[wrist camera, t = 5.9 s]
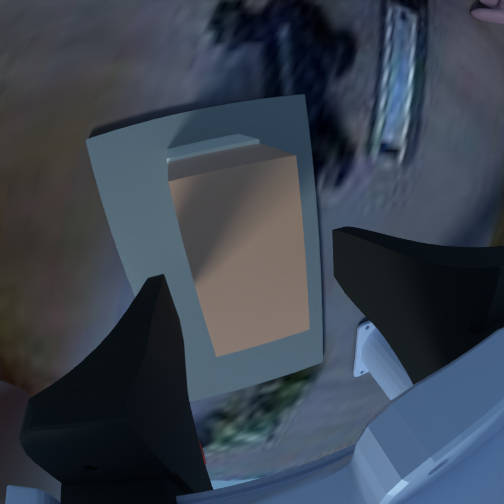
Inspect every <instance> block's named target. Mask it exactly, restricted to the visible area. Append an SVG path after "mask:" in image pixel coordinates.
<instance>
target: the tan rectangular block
mask: <svg viewBox="0 0 504 504" xmlns="http://www.w3.org/2000/svg"><path fill="white" fill-rule="evenodd" d="M168 183H169V187H170V191H171V196H172V200H173V204H174V208H175V212H176V216H177V220H178V224H179V228H180V232H181V236H182V240H183V244H184V248H185V252H186V255H187V259H188V263H189V267H190V270H191V274H192V277H193V281H194V285H195V288H196V292H197V295H198V299H199V302H200V305H201V309H202V312H203V316H204V319H205V322H206V326H207V329H208V332H209V335H210V339H211V342H212V345H213V348H214V351H215V354H216V357H219V356H223V355H227V354H230V353H234V352H238V351H241V350H245V349H248V348H252V347H255V346H259V345H262V344H265V343H269V342H272V341H275V340H278V339H282V338H285V337H288V336H291V335H294V334H297V333H301V332H304V331H307V330H310V325H309V305H308V288H307V272H306V257H305V244H304V232H303V220H302V209H301V198H300V188H299V178H298V169H297V160H296V155H294V154H291V153H288V152H285V151H282V150H279V149H276V148H273V147H270V146H267V145H264V144H261V143H259V144H253V145H247V146H242V147H236V148H231V149H226V150H221V151H216V152H211V153H207V154H202V155H197V156H193V157H188V158H184V159H180V160H176V161H171V162H168Z"/></svg>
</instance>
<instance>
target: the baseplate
mask: <svg viewBox="0 0 504 504" xmlns="http://www.w3.org/2000/svg"><path fill="white" fill-rule="evenodd" d="M235 134H241V135H245V136H249V137H252V138H256V139H259V142H260V143H261V144H264V145H267V146H270V147H273V148H276V149H279V150H282V151H285V152H288V153H291V154H294V155H296V160H297V169H298V178H299V188H300V198H301V209H302V220H303V232H304V244H305V257H306V272H307V288H308V305H309V325H310V330H307V331H304V332H301V333H297V334H294V335H291V336H288V337H285V338H282V339H278V340H275V341H272V342H269V343H265V344H262V345H259V346H255V347H252V348H248V349H245V350H241V351H238V352H234V353H230V354H227V355H223V356H219V357H216V354H215V351H214V348H213V345H212V342H211V339H210V335H209V332H208V329H207V326H206V322H205V319H204V316H203V312H202V309H201V305H200V302H199V299H198V295H197V292H196V288H195V285H194V281H193V277H192V274H191V270H190V267H189V263H188V259H187V255H186V252H185V248H184V244H183V240H182V236H181V232H180V228H179V224H178V220H177V216H176V212H175V208H174V204H173V200H172V196H171V191H170V187H169V183H168V164H167V149H170V148H174V147H178V146H183V145H187V144H191V143H196V142H200V141H205V140H210V139H214V138H219V137H224V136H230V135H235ZM86 144H87V148H88V152H89V156H90V160H91V164H92V168H93V172H94V175H95V179H96V183H97V186H98V190H99V193H100V197H101V200H102V204H103V207H104V210H105V213H106V217H107V220H108V223H109V226H110V229H111V232H112V235H113V238H114V241H115V244H116V247H117V250H118V253H119V255H120V258H121V261H122V264H123V266H124V269H125V272H126V274H127V277H128V280H129V282H130V285H131V287H132V290H133V293H134V295H135V297H136V296H137V294H138V292H139V291H140V289H141V288H142V286H143V284H144V283H145V281H146V280H147V278H149V277H153V276H157V275H161V274H164V275H165V278H166V281H167V284H168V287H169V290H170V293H171V296H172V299H173V302H174V304H175V307H176V310H177V313H178V316H179V319H180V323H181V328H182V333H183V339H184V347H185V361H186V375H187V387H188V396H189V402H192V401H196V400H200V399H204V398H208V397H212V396H216V395H220V394H224V393H228V392H231V391H235V390H239V389H242V388H246V387H249V386H253V385H256V384H259V383H263V382H266V381H269V380H272V379H275V378H278V377H282V376H285V375H288V374H291V373H294V372H297V371H299V370H302V369H305V368H308V367H311V366H314V365H316V364H319V363H322V362H323V328H322V290H321V267H320V248H319V231H318V217H317V204H316V192H315V180H314V170H313V160H312V150H311V141H310V133H309V124H308V116H307V108H306V101H305V94H302V95H291V96H281V97H273V98H264V99H257V100H250V101H243V102H236V103H230V104H224V105H219V106H213V107H208V108H203V109H198V110H193V111H188V112H183V113H179V114H175V115H170V116H166V117H162V118H158V119H154V120H150V121H146V122H142V123H139V124H135V125H131V126H128V127H124V128H121V129H118V130H114V131H111V132H108V133H105V134H101V135H98V136H95V137H92V138H89V139H86Z"/></svg>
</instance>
